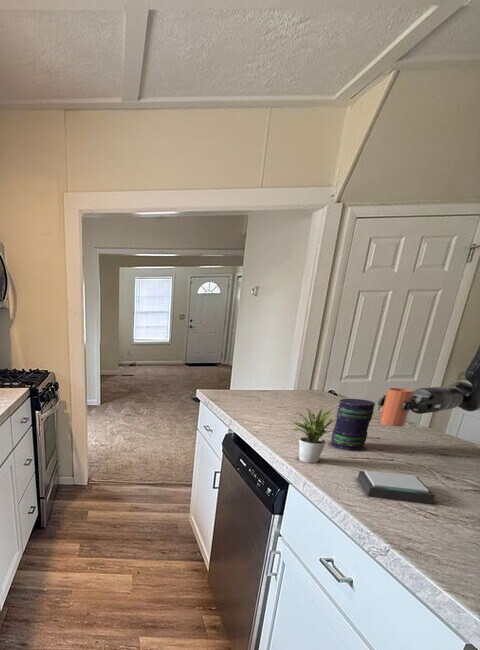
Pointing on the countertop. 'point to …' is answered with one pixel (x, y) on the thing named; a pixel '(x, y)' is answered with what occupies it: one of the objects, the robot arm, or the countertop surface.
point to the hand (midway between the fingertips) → (391, 404)
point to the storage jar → (352, 424)
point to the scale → (395, 486)
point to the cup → (395, 406)
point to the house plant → (312, 436)
